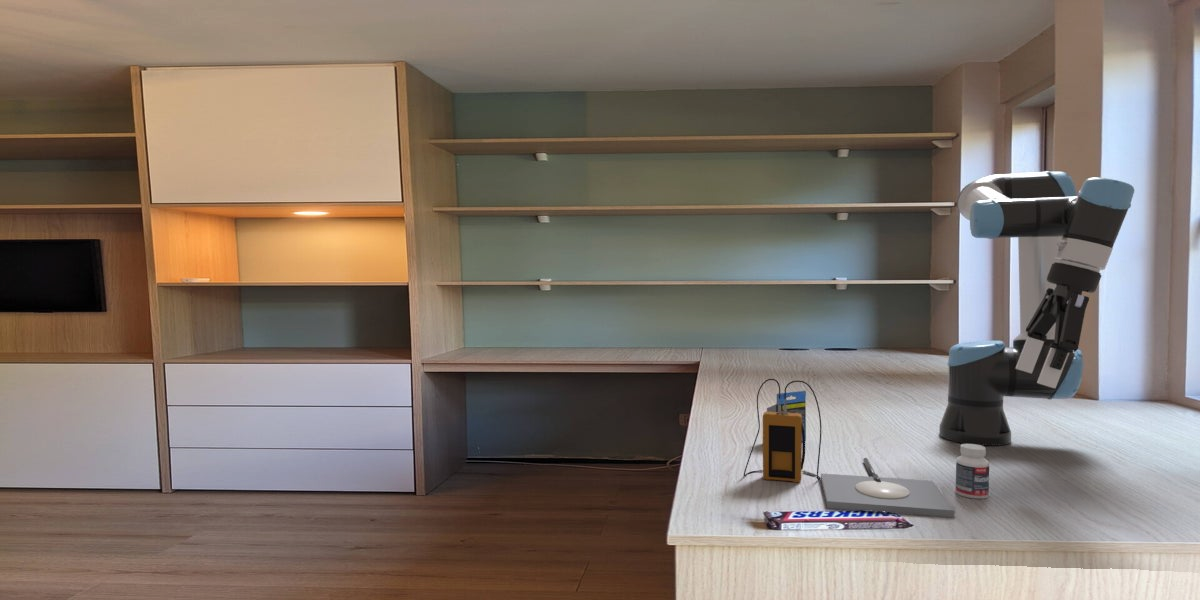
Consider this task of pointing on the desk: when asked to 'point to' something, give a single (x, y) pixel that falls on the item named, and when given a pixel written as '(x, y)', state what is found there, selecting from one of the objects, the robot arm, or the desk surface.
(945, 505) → the board
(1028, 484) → the desk surface
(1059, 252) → the robot arm
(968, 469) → the pill bottle
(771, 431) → the multimeter
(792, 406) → the label tape cartridge
